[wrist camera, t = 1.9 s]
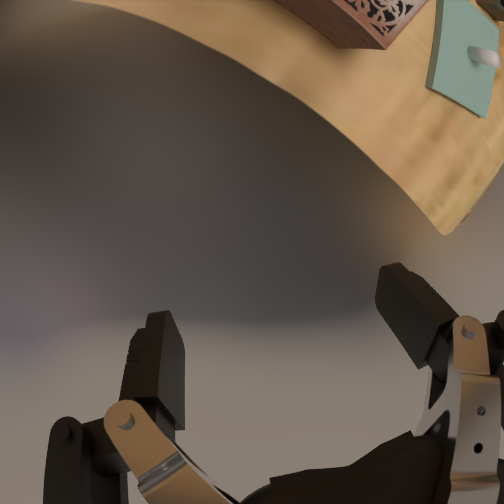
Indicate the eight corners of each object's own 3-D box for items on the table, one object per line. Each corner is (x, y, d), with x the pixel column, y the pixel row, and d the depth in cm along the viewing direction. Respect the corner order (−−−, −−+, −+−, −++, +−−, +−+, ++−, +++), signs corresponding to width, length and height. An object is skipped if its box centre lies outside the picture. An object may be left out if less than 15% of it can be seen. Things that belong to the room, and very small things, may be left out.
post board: (437, -17, 15) (468, -18, 10) (492, 28, 17) (520, 35, 12) (425, 86, 27) (457, 97, 22) (479, 116, 29) (506, 130, 24)
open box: (475, -22, 11) (496, -21, 7) (494, -4, 12) (514, -1, 8) (476, 2, 15) (497, 4, 11) (494, 19, 16) (515, 24, 12)
